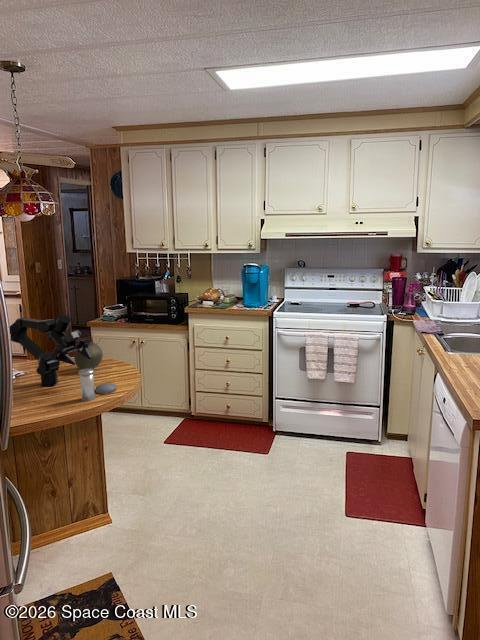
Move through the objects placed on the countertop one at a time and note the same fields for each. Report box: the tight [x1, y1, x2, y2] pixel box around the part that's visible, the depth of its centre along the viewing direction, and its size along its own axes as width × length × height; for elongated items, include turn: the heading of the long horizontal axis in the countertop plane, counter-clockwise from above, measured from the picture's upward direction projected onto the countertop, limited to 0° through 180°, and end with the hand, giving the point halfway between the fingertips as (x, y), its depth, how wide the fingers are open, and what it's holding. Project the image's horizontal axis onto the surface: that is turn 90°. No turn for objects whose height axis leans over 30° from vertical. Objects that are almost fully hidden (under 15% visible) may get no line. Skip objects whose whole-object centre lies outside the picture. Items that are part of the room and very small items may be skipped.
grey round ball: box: [73, 341, 104, 370], centre depth 244 cm, size 14×14×15 cm
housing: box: [78, 368, 96, 402], centre depth 204 cm, size 6×6×13 cm
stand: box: [95, 382, 117, 395], centre depth 215 cm, size 9×9×2 cm
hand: (82, 361), depth 210 cm, fingers open, 9 cm apart
